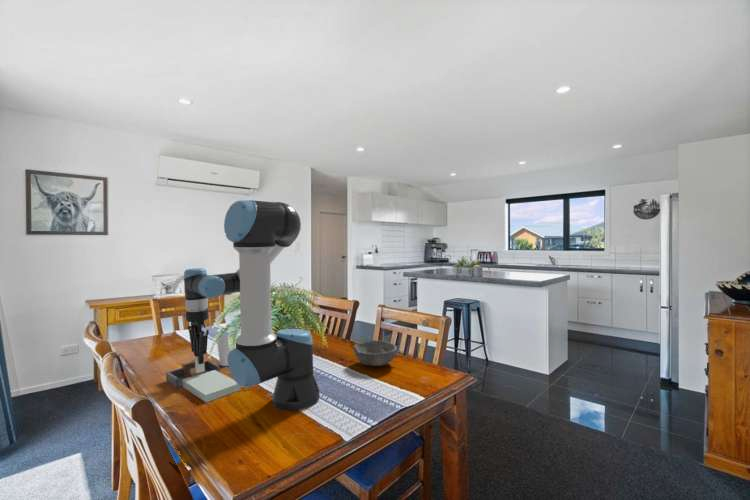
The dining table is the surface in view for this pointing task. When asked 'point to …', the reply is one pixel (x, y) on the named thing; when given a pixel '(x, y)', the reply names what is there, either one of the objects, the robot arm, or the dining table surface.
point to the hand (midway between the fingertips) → (200, 371)
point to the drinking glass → (223, 348)
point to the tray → (177, 377)
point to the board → (210, 385)
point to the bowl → (375, 352)
